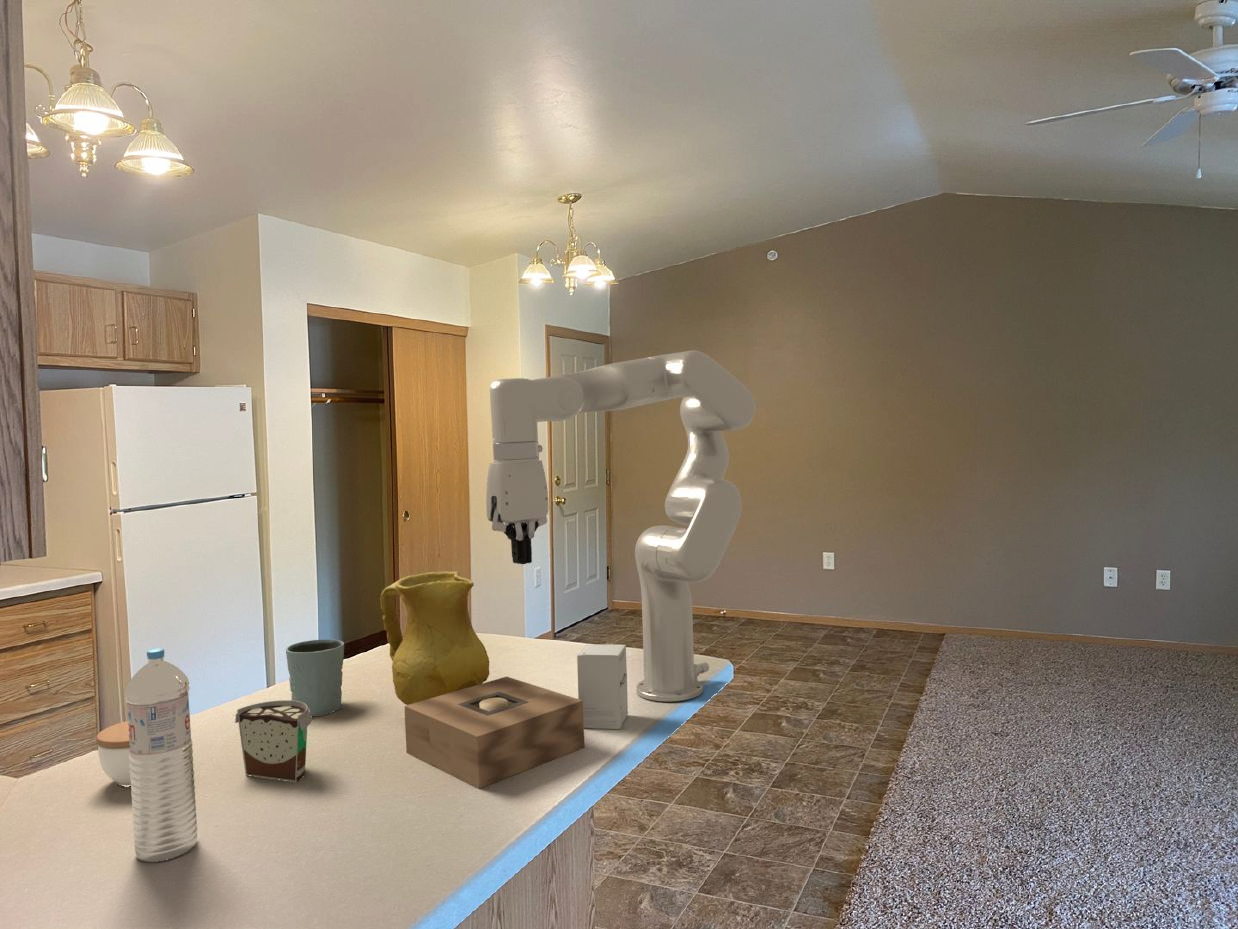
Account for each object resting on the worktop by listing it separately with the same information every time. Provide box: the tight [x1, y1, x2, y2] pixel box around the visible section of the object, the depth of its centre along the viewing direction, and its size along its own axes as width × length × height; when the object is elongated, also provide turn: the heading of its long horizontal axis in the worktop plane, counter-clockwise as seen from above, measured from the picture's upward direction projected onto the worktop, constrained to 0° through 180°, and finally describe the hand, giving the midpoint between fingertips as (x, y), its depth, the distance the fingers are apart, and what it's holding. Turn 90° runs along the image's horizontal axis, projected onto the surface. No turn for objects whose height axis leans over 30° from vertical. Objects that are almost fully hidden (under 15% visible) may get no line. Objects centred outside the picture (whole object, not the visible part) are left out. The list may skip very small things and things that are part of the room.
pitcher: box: [379, 571, 490, 706], centre depth 148 cm, size 17×19×25 cm
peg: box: [479, 698, 508, 711], centre depth 130 cm, size 4×4×7 cm
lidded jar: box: [96, 720, 131, 786], centre depth 123 cm, size 11×11×9 cm
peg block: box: [404, 676, 585, 790], centre depth 130 cm, size 20×20×8 cm
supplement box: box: [576, 643, 629, 730], centre depth 141 cm, size 7×7×13 cm
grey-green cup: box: [285, 638, 345, 717], centre depth 153 cm, size 10×10×12 cm
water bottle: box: [124, 647, 198, 863], centre depth 101 cm, size 7×7×25 cm
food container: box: [234, 699, 313, 783], centre depth 125 cm, size 12×6×10 cm, turn 71°
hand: (522, 562), depth 137 cm, fingers closed
